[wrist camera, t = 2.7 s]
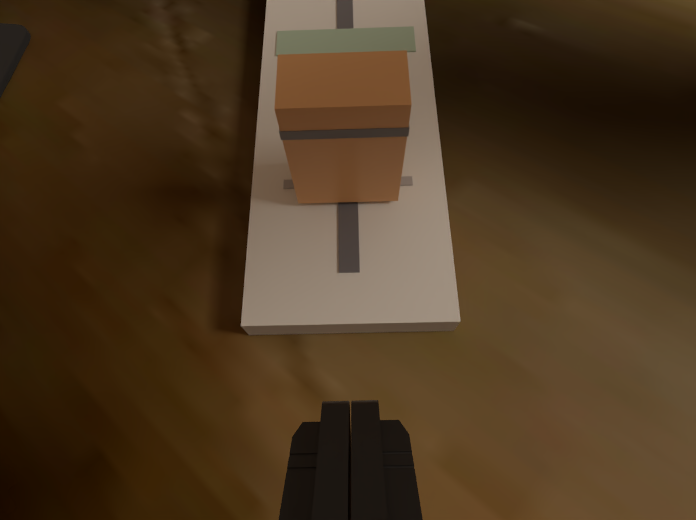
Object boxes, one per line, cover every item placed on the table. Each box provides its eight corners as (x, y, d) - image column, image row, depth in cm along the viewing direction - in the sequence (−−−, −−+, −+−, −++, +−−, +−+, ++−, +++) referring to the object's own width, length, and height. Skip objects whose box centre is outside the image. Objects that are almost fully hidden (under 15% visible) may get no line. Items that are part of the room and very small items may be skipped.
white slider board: (453, 330, 27) (460, 321, 25) (248, 334, 27) (240, 325, 25) (416, -20, 39) (419, -45, 37) (274, -14, 39) (269, -39, 37)
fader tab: (398, 201, 28) (413, 105, 20) (297, 204, 28) (273, 109, 20) (395, 155, 29) (407, 49, 21) (298, 158, 29) (276, 53, 21)
